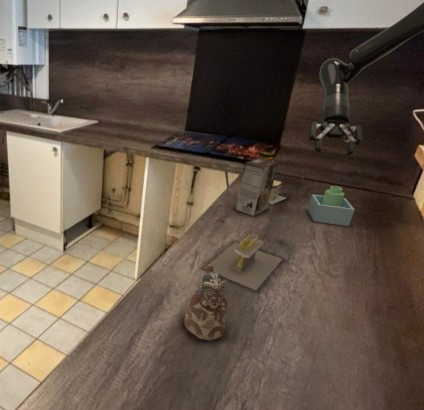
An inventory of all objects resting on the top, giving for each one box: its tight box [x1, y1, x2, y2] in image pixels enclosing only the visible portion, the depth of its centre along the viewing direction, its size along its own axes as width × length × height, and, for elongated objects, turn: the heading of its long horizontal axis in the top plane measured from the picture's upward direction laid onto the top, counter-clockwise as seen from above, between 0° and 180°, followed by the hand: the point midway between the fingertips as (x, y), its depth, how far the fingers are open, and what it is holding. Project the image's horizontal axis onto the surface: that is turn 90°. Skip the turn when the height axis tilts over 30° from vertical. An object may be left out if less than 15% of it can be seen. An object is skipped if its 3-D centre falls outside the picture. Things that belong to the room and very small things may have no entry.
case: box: [307, 194, 356, 227], centre depth 111 cm, size 9×9×6 cm
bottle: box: [321, 185, 345, 207], centre depth 110 cm, size 5×5×10 cm
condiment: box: [257, 150, 275, 161], centre depth 139 cm, size 7×8×12 cm
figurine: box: [184, 264, 228, 341], centre depth 64 cm, size 7×7×12 cm
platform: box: [204, 234, 283, 292], centre depth 85 cm, size 12×18×7 cm, turn 136°
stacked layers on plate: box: [269, 179, 287, 205], centre depth 126 cm, size 10×9×6 cm
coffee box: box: [236, 157, 279, 217], centre depth 114 cm, size 9×6×16 cm
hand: (334, 152), depth 114 cm, fingers open, 8 cm apart
